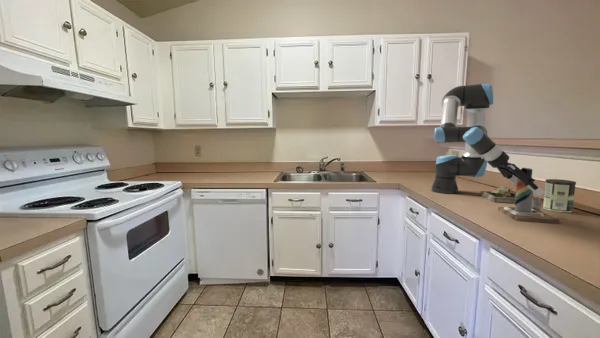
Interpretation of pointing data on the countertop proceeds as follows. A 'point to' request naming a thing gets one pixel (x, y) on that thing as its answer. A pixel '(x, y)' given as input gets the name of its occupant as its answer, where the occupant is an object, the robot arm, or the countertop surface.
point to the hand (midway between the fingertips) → (531, 190)
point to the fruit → (501, 192)
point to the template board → (533, 216)
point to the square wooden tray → (498, 199)
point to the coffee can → (559, 195)
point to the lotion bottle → (523, 194)
